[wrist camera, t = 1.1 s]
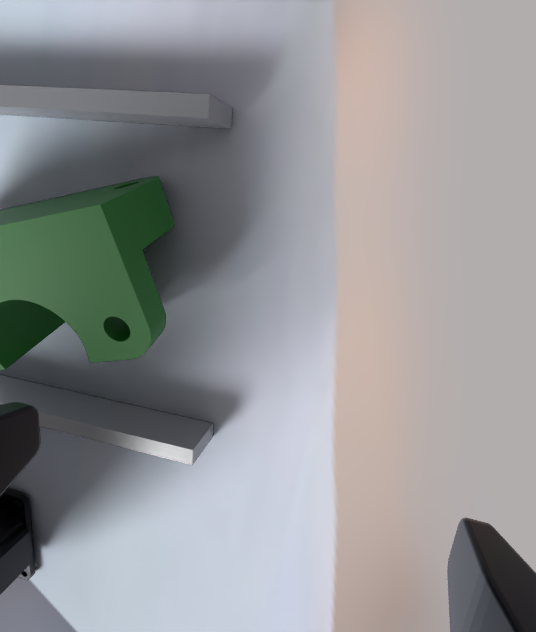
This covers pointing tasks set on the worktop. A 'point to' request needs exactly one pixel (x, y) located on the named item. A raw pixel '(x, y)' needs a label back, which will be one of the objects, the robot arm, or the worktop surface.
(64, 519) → the worktop surface
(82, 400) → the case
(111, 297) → the green bracket
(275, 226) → the worktop surface
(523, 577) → the robot arm
